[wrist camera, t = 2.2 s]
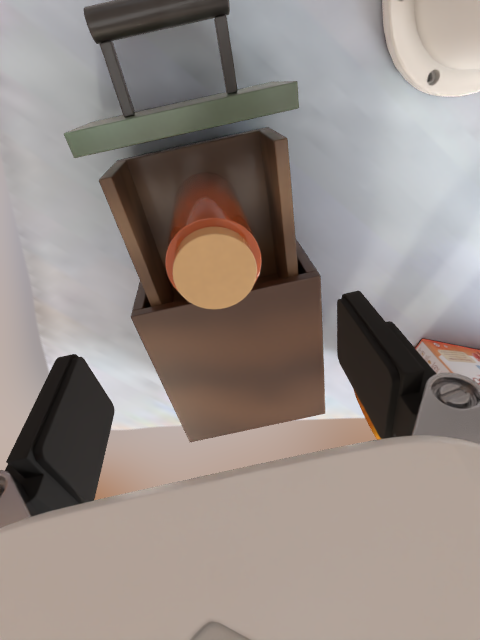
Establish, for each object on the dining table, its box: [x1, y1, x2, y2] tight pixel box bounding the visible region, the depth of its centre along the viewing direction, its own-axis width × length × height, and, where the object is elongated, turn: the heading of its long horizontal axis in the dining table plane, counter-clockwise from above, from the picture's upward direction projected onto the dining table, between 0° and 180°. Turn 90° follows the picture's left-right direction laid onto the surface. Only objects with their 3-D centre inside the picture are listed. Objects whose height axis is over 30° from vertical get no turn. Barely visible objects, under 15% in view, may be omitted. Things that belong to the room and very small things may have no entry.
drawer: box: [64, 0, 299, 307], centre depth 22 cm, size 19×12×6 cm, turn 10°
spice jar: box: [165, 172, 262, 309], centre depth 21 cm, size 5×5×11 cm
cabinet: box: [131, 238, 325, 442], centre depth 31 cm, size 16×14×8 cm
